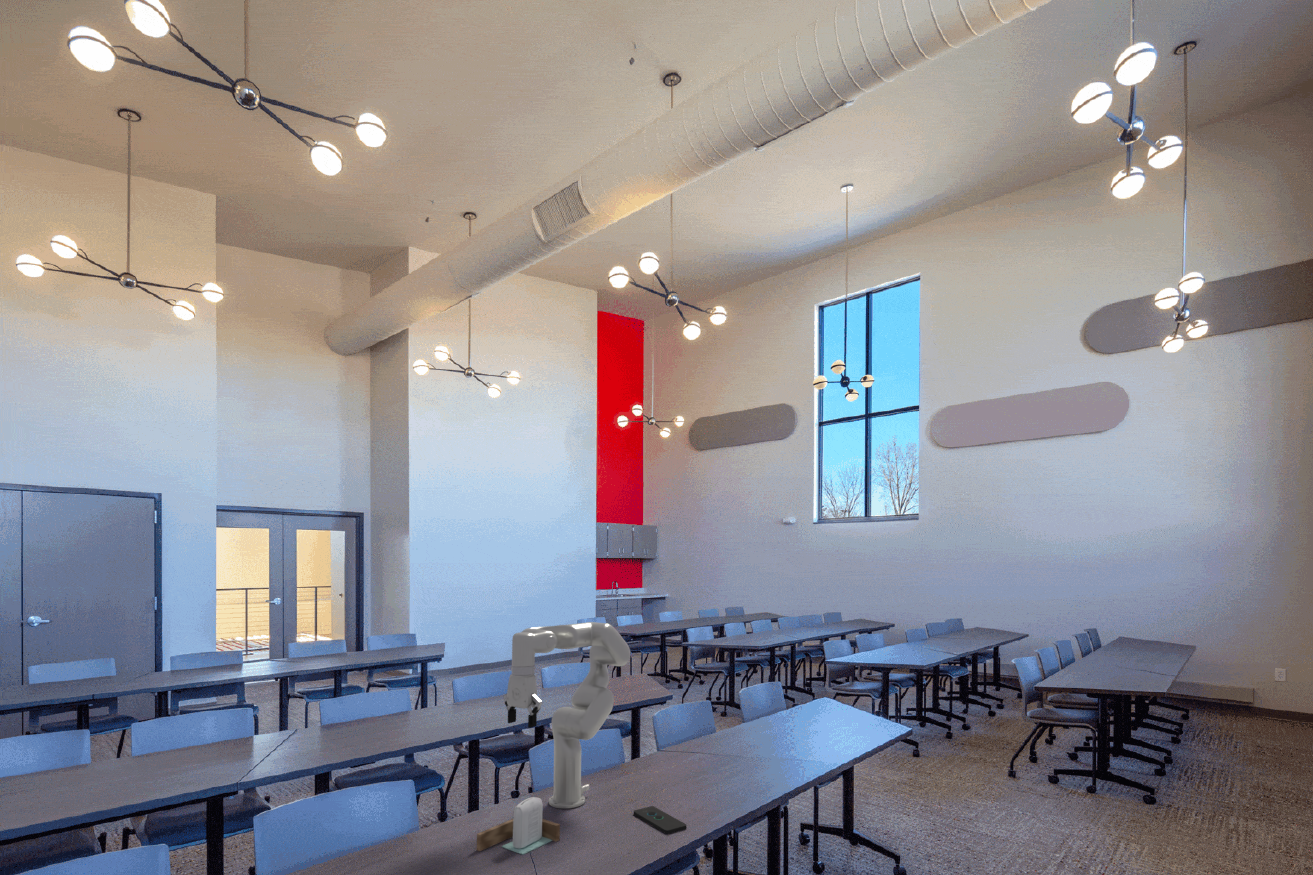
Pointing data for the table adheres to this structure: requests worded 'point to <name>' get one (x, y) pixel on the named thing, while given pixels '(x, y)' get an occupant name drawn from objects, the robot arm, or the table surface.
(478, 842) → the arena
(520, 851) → the pad
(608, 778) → the table surface
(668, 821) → the smart home device
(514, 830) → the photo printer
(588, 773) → the table surface
